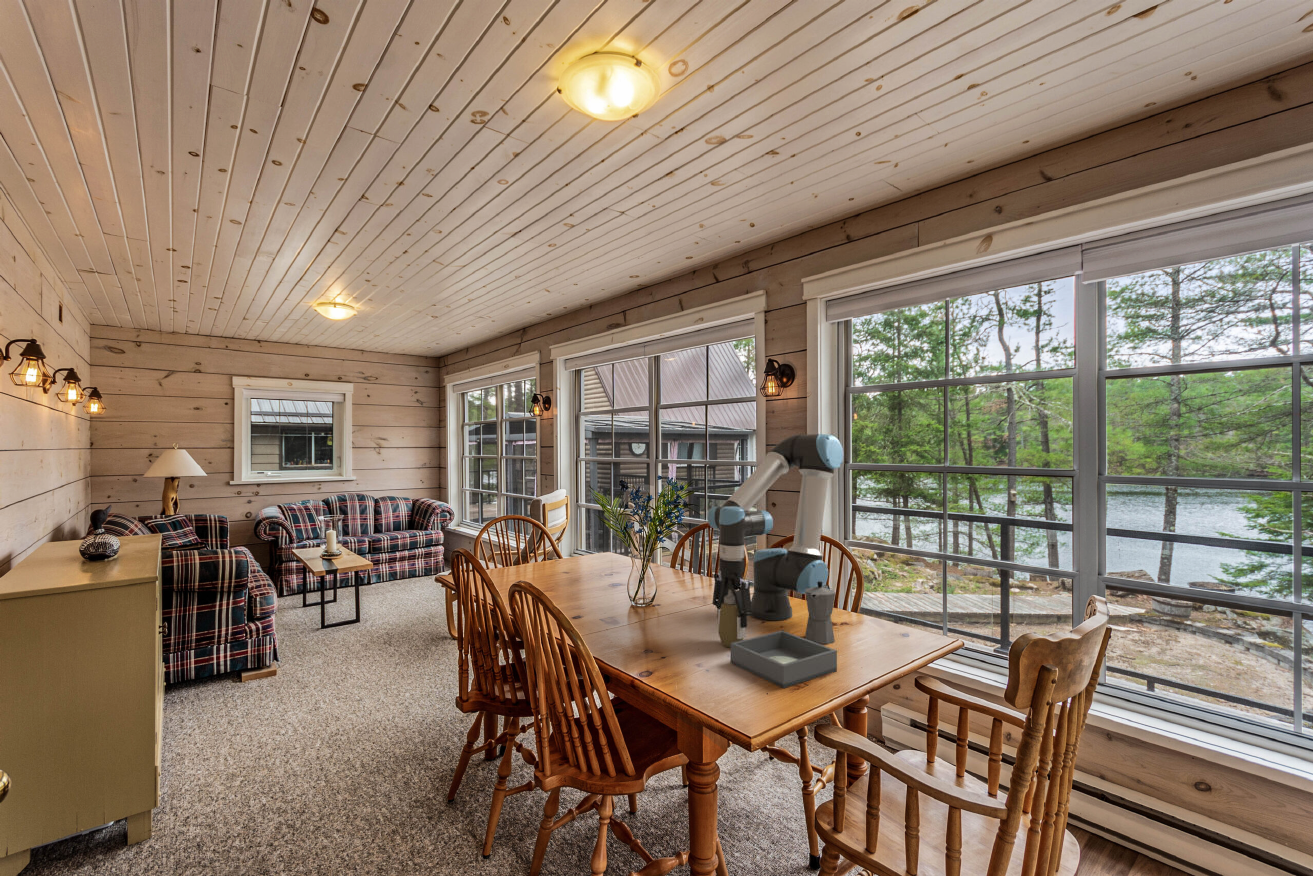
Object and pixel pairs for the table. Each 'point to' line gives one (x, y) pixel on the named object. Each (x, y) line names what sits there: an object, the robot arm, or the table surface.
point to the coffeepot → (820, 614)
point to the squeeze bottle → (728, 620)
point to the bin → (783, 658)
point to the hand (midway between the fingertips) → (731, 633)
